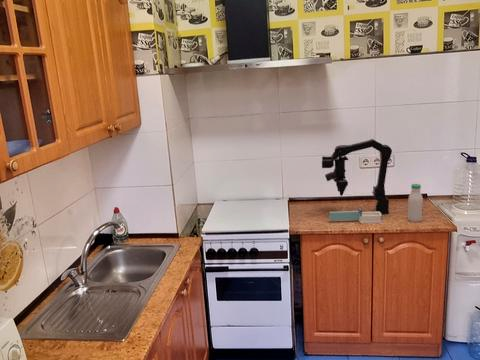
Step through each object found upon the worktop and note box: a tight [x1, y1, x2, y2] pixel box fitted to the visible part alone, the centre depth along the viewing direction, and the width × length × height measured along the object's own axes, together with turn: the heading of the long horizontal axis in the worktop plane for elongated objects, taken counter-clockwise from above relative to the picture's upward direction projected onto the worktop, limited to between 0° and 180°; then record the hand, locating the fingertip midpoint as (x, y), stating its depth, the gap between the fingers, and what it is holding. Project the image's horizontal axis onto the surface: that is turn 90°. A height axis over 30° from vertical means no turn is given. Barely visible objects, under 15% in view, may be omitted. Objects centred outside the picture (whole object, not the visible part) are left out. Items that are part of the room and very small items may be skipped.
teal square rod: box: [329, 210, 359, 221], centre depth 236 cm, size 16×2×4 cm, turn 85°
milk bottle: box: [407, 183, 424, 223], centre depth 230 cm, size 8×8×20 cm
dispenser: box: [357, 206, 384, 224], centre depth 235 cm, size 12×8×7 cm
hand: (340, 193), depth 248 cm, fingers open, 9 cm apart
